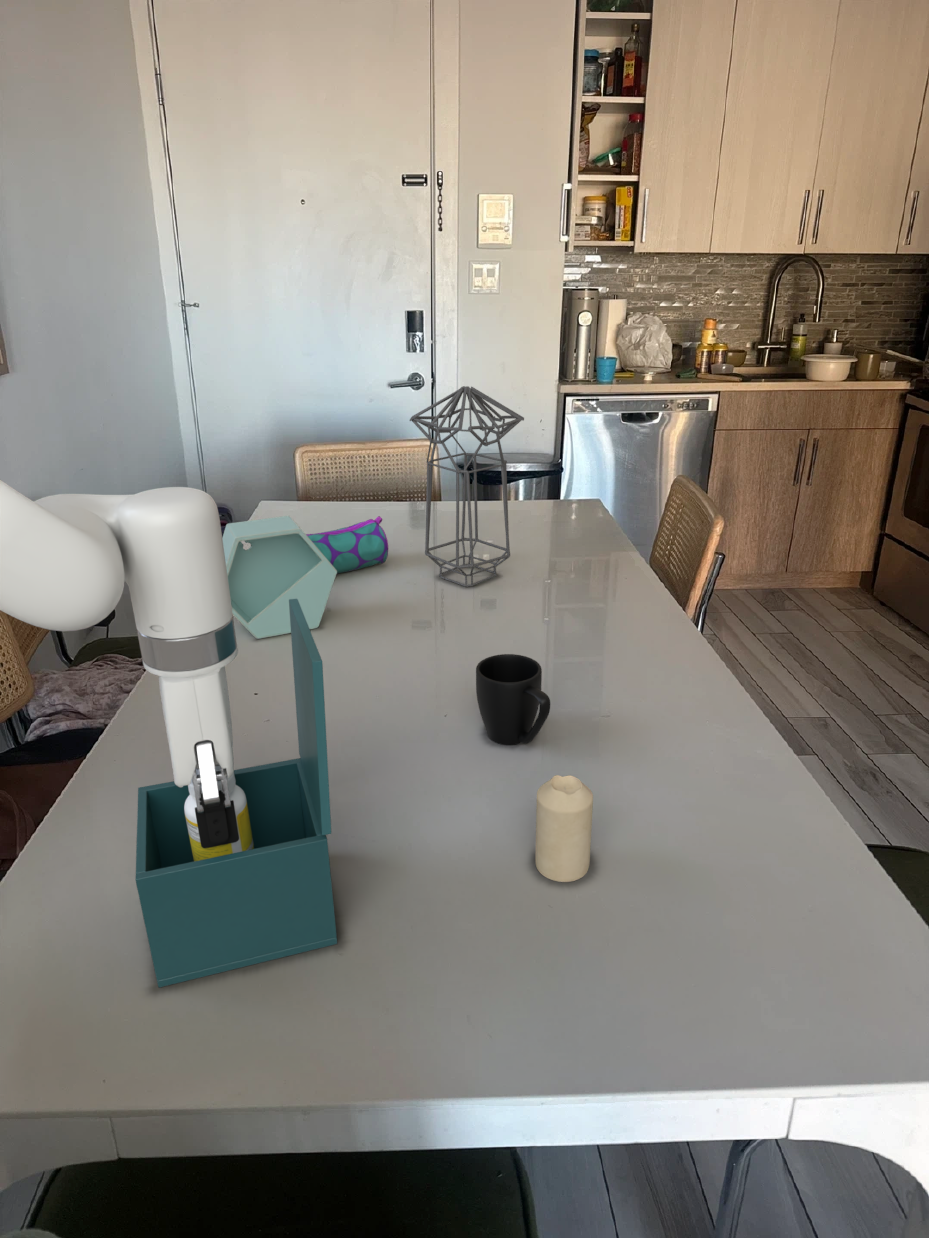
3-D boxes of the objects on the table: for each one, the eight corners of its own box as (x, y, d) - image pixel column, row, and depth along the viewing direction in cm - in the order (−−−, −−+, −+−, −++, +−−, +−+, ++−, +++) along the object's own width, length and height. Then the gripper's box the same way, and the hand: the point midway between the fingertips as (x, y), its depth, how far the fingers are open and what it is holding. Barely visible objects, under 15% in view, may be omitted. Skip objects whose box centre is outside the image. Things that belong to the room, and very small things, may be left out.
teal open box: (158, 988, 75) (135, 879, 70) (157, 886, 87) (138, 787, 82) (337, 943, 79) (327, 839, 75) (313, 852, 91) (303, 756, 86)
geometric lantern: (410, 576, 165) (402, 387, 151) (471, 556, 174) (469, 377, 160) (466, 598, 154) (463, 397, 140) (528, 576, 164) (531, 386, 150)
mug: (514, 772, 104) (515, 703, 100) (464, 728, 114) (463, 663, 110) (570, 753, 108) (573, 685, 104) (517, 711, 117) (518, 648, 114)
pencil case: (286, 589, 160) (281, 539, 156) (273, 574, 167) (268, 526, 163) (391, 569, 168) (389, 522, 164) (375, 556, 175) (372, 510, 171)
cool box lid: (312, 662, 68) (322, 660, 68) (288, 599, 80) (297, 598, 80) (322, 835, 74) (331, 833, 75) (299, 753, 86) (307, 752, 86)
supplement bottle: (237, 837, 84) (224, 750, 80) (266, 864, 80) (254, 775, 76) (184, 863, 81) (168, 774, 77) (212, 892, 77) (197, 801, 73)
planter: (278, 661, 143) (192, 573, 132) (268, 642, 149) (185, 558, 138) (357, 594, 144) (278, 502, 133) (344, 578, 151) (267, 490, 139)
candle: (557, 890, 85) (560, 805, 81) (524, 859, 90) (525, 777, 86) (600, 869, 88) (605, 787, 84) (566, 840, 92) (570, 760, 88)
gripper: (141, 608, 78) (173, 779, 85) (138, 696, 63) (177, 894, 70) (228, 597, 80) (251, 764, 87) (245, 679, 65) (271, 873, 72)
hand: (218, 820), depth 78 cm, fingers closed on supplement bottle, 5 cm apart
